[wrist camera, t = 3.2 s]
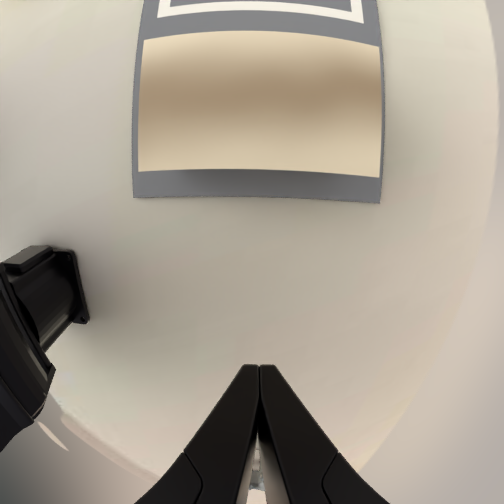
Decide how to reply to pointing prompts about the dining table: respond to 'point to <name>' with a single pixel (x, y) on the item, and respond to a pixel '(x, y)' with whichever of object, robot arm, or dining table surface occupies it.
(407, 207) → the dining table surface
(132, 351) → the dining table surface
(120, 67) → the dining table surface
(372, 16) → the mat
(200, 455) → the robot arm
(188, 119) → the block
